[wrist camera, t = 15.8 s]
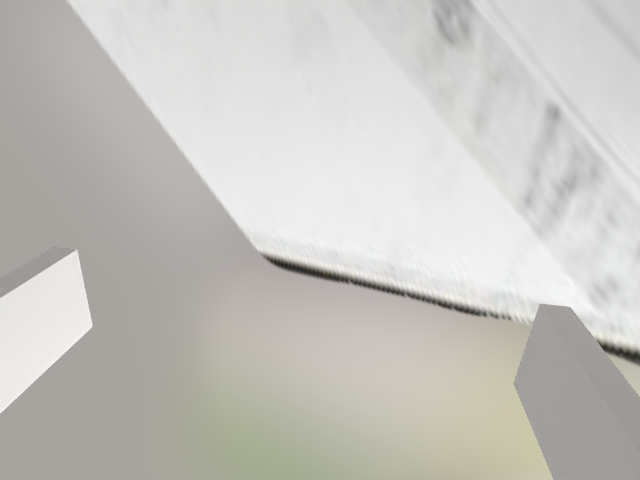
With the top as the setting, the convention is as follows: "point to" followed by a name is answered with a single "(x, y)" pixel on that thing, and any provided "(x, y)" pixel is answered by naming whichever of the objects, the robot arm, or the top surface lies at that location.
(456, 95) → the top surface
